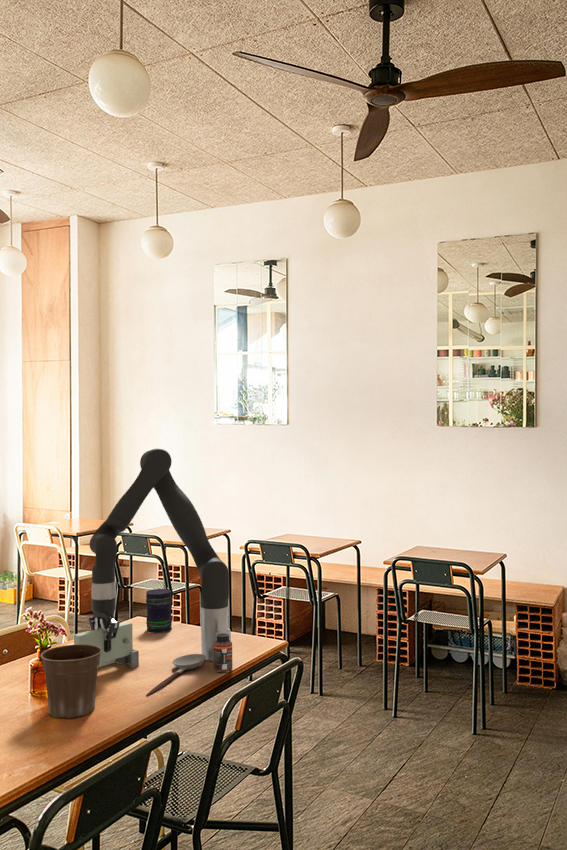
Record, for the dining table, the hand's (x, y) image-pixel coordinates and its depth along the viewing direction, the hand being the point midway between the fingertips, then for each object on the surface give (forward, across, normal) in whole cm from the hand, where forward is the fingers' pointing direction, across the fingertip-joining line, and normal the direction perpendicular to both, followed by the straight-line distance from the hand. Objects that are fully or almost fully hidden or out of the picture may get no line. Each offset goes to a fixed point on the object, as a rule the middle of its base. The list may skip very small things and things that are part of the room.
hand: (104, 650), depth 233 cm
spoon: (+8, +22, +10) cm, 25 cm away
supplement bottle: (+7, +28, +25) cm, 39 cm away
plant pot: (+7, +20, -25) cm, 33 cm away
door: (+3, 0, 0) cm, 3 cm away
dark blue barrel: (+7, -28, +45) cm, 53 cm away
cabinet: (+7, -5, 0) cm, 9 cm away
